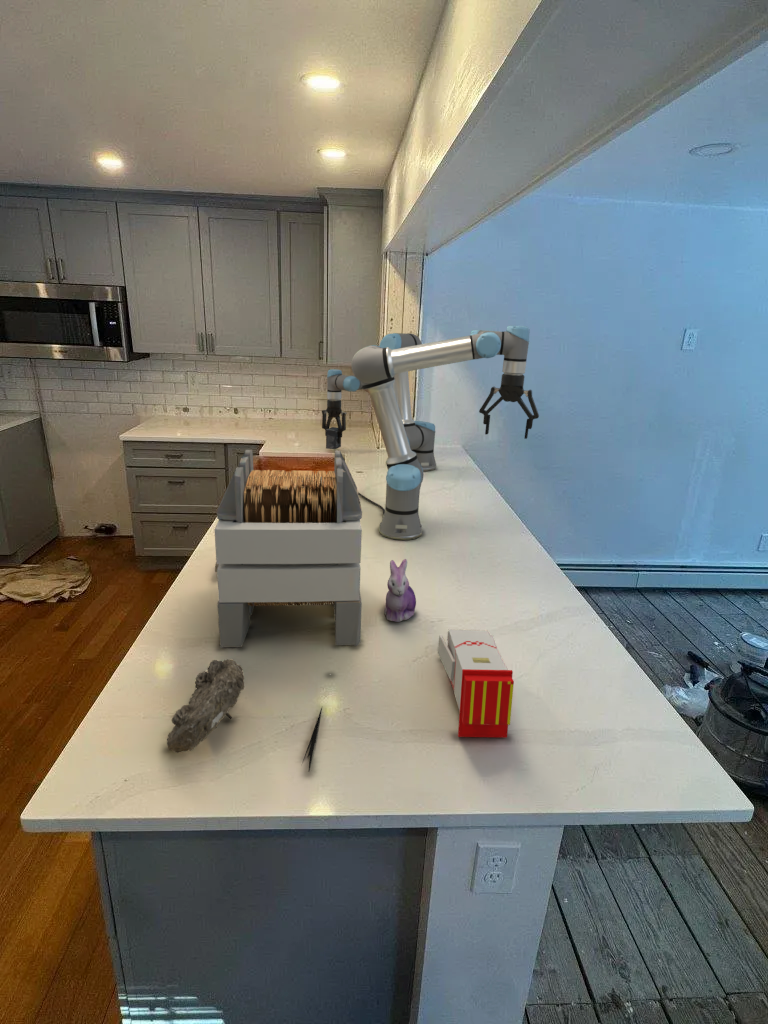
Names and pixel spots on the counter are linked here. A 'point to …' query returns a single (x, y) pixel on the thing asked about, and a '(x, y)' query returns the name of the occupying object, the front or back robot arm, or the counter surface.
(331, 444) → the box
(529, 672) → the counter surface
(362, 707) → the counter surface
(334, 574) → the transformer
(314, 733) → the feather
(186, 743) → the fossil
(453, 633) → the toy
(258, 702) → the counter surface
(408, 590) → the figurine
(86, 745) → the counter surface
